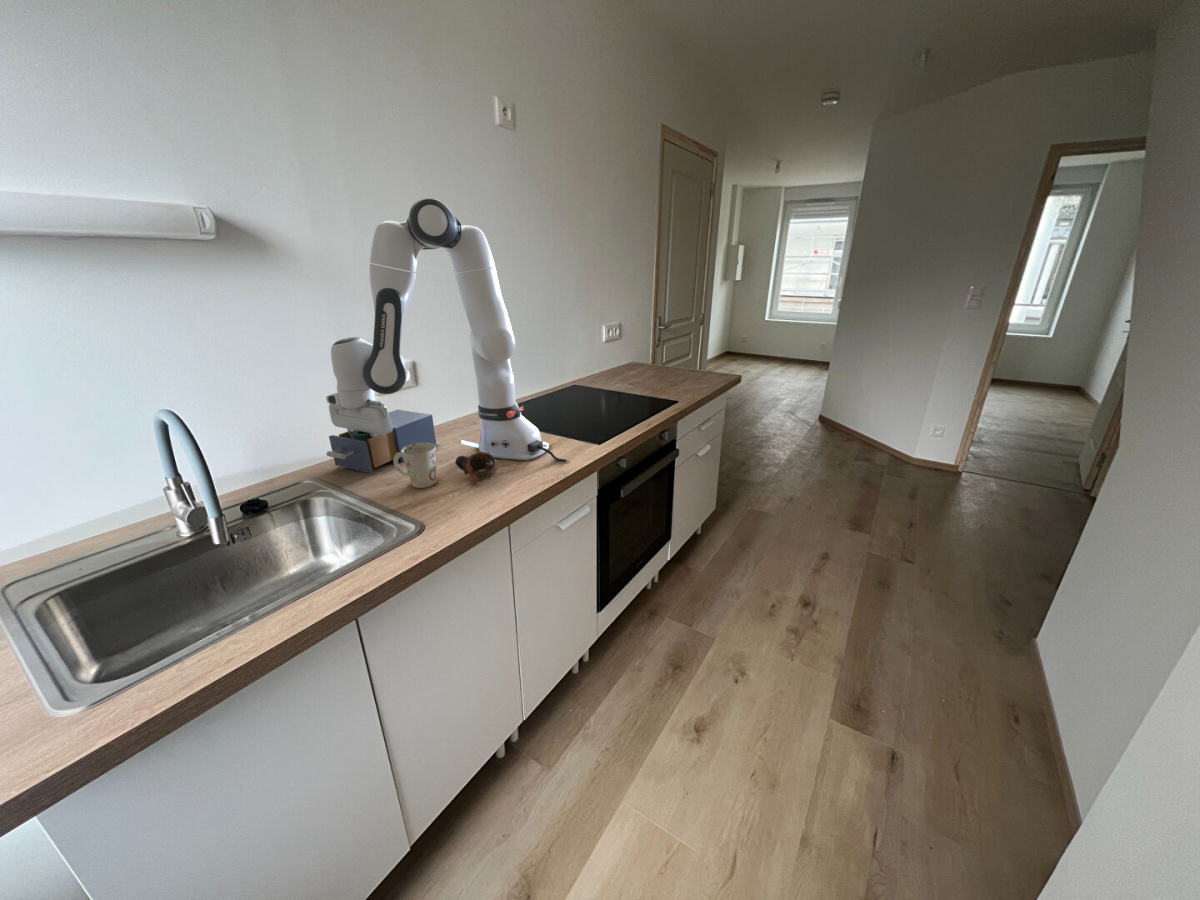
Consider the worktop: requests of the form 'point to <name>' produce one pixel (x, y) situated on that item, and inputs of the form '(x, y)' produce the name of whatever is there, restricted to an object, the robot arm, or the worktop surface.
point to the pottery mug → (477, 466)
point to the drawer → (362, 451)
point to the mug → (418, 463)
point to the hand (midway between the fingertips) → (365, 444)
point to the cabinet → (412, 428)
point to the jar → (362, 436)
